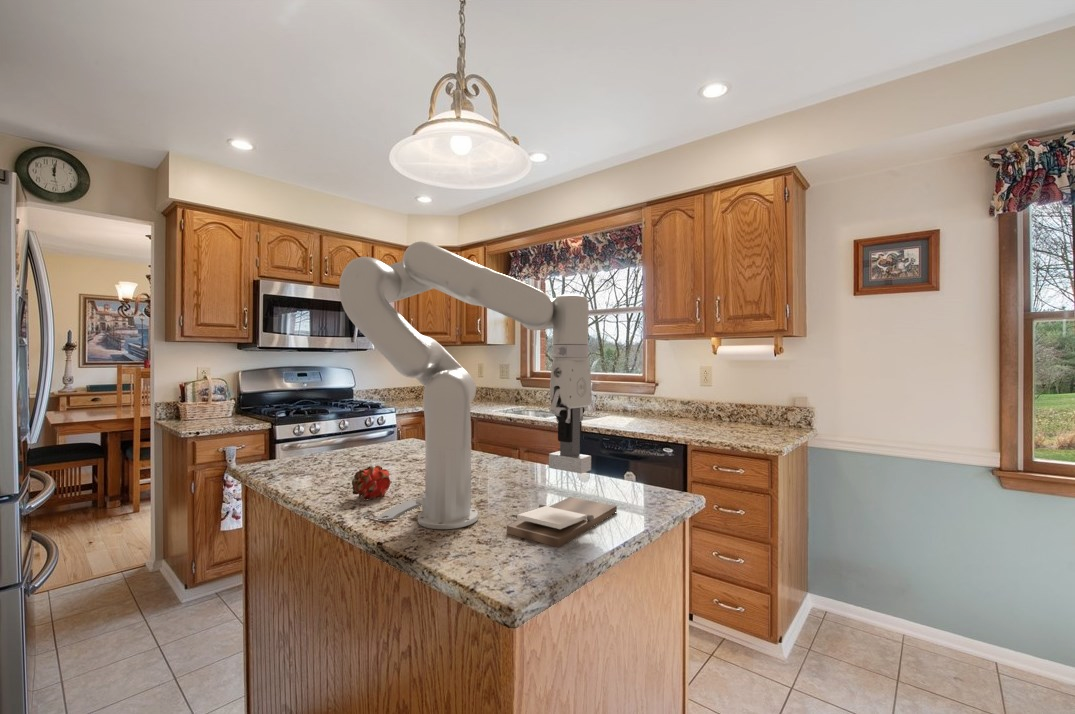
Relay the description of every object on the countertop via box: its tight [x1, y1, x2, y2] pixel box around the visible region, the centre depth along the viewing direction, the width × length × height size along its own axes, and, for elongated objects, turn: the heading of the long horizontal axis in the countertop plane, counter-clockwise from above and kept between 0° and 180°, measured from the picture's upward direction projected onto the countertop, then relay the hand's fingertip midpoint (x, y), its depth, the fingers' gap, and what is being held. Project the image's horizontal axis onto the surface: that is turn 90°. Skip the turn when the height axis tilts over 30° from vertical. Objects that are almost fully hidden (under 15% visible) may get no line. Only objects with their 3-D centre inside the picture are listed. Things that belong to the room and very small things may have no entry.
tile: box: [516, 505, 586, 529], centre depth 95 cm, size 10×10×1 cm
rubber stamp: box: [548, 404, 592, 474], centre depth 101 cm, size 4×8×14 cm, turn 54°
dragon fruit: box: [351, 465, 393, 501], centre depth 117 cm, size 8×8×12 cm
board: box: [506, 496, 618, 548], centre depth 99 cm, size 13×24×3 cm, turn 145°
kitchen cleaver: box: [373, 499, 422, 521], centre depth 111 cm, size 24×1×10 cm
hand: (569, 439), depth 101 cm, fingers closed on rubber stamp, 3 cm apart
